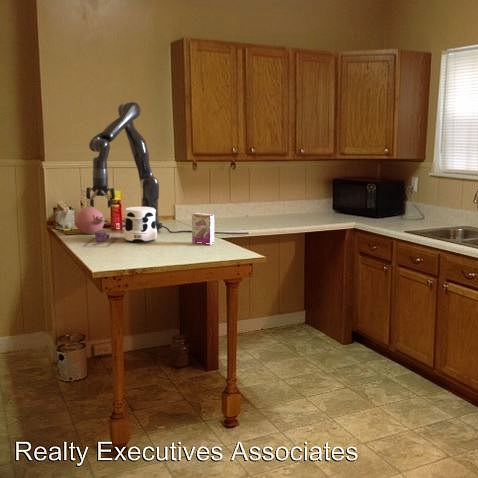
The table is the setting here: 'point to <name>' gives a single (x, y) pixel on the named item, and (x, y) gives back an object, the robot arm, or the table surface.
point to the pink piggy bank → (89, 220)
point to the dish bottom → (100, 239)
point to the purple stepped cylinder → (100, 233)
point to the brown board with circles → (99, 242)
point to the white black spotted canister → (140, 224)
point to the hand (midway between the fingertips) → (100, 207)
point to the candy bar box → (202, 228)
